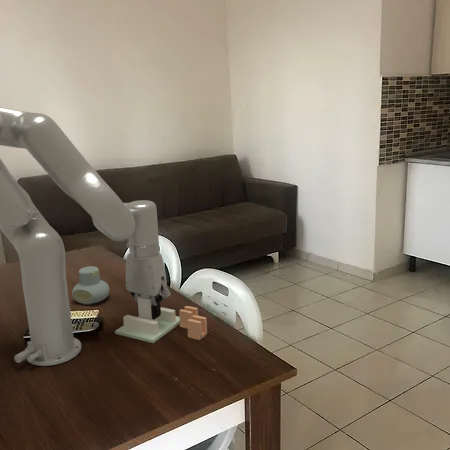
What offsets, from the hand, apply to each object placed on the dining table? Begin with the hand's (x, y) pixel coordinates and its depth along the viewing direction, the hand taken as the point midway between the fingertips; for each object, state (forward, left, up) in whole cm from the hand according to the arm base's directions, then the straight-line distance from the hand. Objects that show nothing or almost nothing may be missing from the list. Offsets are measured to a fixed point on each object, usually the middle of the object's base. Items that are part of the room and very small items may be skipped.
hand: (149, 315), depth 129 cm
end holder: (0, 0, -3) cm, 3 cm away
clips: (+3, -12, -3) cm, 12 cm away
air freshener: (+7, +27, -4) cm, 28 cm away
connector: (0, 0, -1) cm, 1 cm away
